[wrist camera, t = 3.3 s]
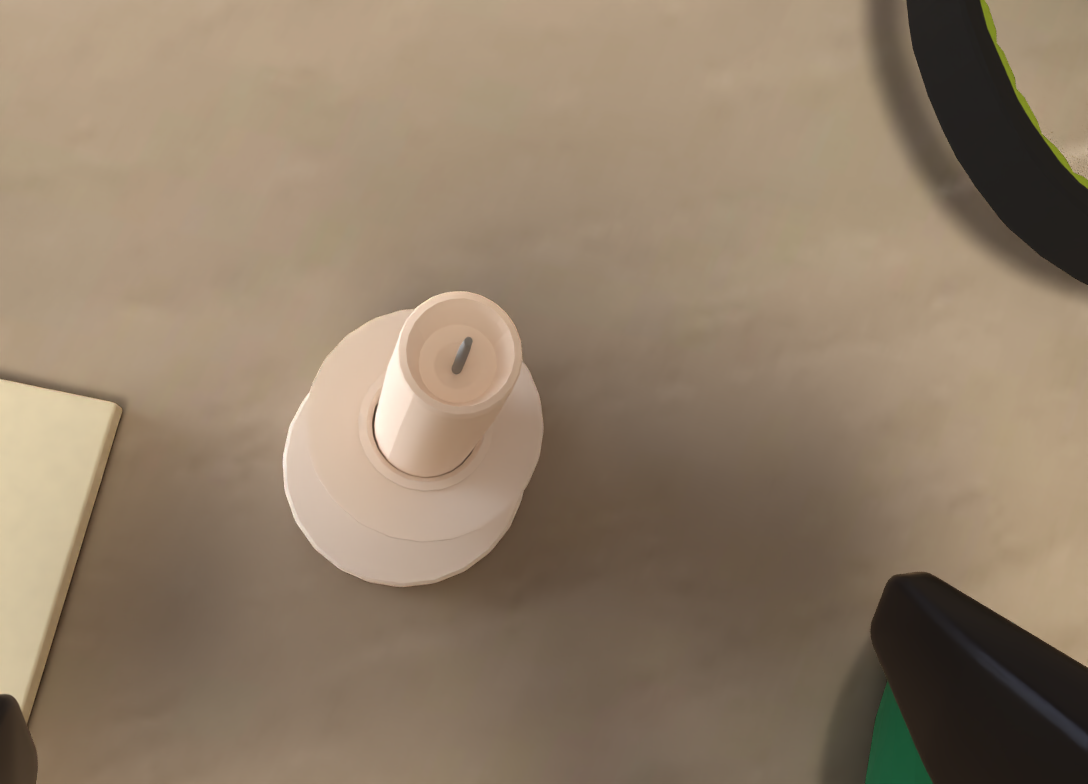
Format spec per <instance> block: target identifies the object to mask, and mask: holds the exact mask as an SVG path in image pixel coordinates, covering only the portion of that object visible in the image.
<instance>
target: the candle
mask: <svg viewBox="0 0 1088 784" xmlns="http://www.w3.org/2000/svg"><path fill="white" fill-rule="evenodd" d="M522 359H523V356H522V344H521V340H520V337H519V334H518V331H517V328H516V326H515V325H514V323H513V321H512V320H511V318H510V317H509V315H508V314H507V313H506V312H505V311H504V310H503V309H502V308H501V307H500V306H498V305H497V304H496V303H495V302H493V301H491V300H490V299H488V298H486V297H484V296H482V295H479V294H475V293H470V292H466V291H456V292H446V293H443V294H440V295H436V296H433V297H431V298H430V299H428V300H427V301H425V302H423V303H422V304H420V305H419V306H418V307H417V308H416V309H407V310H400V311H397V312H393V313H390V314H387V315H384V316H380V317H377V318H374V319H372V320H370V321H369V322H367V323H365V324H364V325H362V326H361V327H359V328H357V329H356V330H354V331H352V332H351V333H349V334H348V335H346V337H345V338H344V339H343V340H342V341H341V342H340V343H339V344H338V345H337V346H336V347H335V348H334V349H333V350H332V351H331V353H330V354H329V355H328V356H327V357H326V358H325V360H324V362H323V364H322V366H321V368H320V370H319V372H318V373H317V375H316V377H315V379H314V381H313V383H312V385H311V390H310V393H309V394H308V395H307V396H306V397H305V398H304V400H303V402H302V404H301V405H300V407H299V409H298V411H297V413H296V415H295V417H294V419H293V421H292V422H291V424H290V426H289V431H288V435H287V440H286V444H285V449H284V454H283V474H284V490H285V493H286V496H287V499H288V502H289V505H290V508H291V511H292V514H293V517H294V519H295V522H296V523H297V524H298V526H299V527H300V529H301V530H302V532H303V533H304V535H305V536H306V537H307V539H308V540H309V542H310V543H311V545H312V546H313V548H314V549H315V550H317V551H318V552H319V553H320V554H321V555H323V556H324V557H325V558H326V559H327V560H329V561H330V562H331V563H332V564H334V565H335V566H336V567H337V568H338V569H340V570H342V571H344V572H347V573H349V574H351V575H353V576H356V577H358V578H360V579H362V580H365V581H367V582H369V583H376V584H383V585H389V586H396V587H408V586H416V585H425V584H433V583H437V582H439V581H442V580H444V579H447V578H449V577H452V576H454V575H457V574H459V573H462V572H464V571H466V570H467V569H468V568H470V567H471V566H472V565H474V564H475V563H476V562H478V561H479V560H481V559H482V558H483V557H485V556H486V555H487V554H489V553H490V552H491V551H492V549H493V548H494V547H495V546H496V544H497V543H498V542H499V541H500V539H501V538H502V537H503V535H504V534H505V533H506V532H507V530H508V529H509V528H510V526H511V524H512V521H513V519H514V517H515V514H516V512H517V510H518V507H519V505H520V503H521V501H522V497H523V490H524V489H525V488H526V487H527V485H528V483H529V481H530V478H531V476H532V474H533V472H534V469H535V467H536V465H537V462H538V460H539V458H540V451H541V444H542V437H543V431H544V425H543V416H542V407H541V399H540V396H539V393H538V391H537V388H536V386H535V383H534V381H533V378H532V375H531V373H530V371H529V369H528V368H527V366H526V365H525V364H524V362H523V361H522Z"/></svg>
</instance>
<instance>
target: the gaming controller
mask: <svg viewBox="0 0 1088 784" xmlns="http://www.w3.org/2000/svg"><path fill="white" fill-rule="evenodd" d="M865 784H933V782H932V780H931V778H930V776H929V774H928V773H927V771H926V769H925V766H924V764H923V762H922V760H921V758H920V755H919V753H918V751H917V749H916V747H915V744H914V742H913V740H912V737H911V735H910V732H909V730H908V728H907V725H906V723H905V721H904V718H903V716H902V714H901V711H900V709H899V706H898V704H897V702H896V699H895V697H894V695H893V692H892V690H891V688H890V685H889V683H888V680H887V684H886V687H885V690H884V693H883V696H882V699H881V702H880V706H879V709H878V712H877V715H876V719H875V725H874V731H873V737H872V743H871V749H870V755H869V762H868V768H867V774H866V780H865Z"/></svg>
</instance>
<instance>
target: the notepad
mask: <svg viewBox="0 0 1088 784" xmlns="http://www.w3.org/2000/svg"><path fill="white" fill-rule="evenodd" d="M121 414H122V408H121V407H120V406H119V405H117V404H116V403H114V402H110V401H105V400H100V399H95V398H91V397H86V396H81V395H76V394H71V393H66V392H61V391H57V390H52V389H47V388H42V387H37V386H32V385H27V384H23V383H18V382H13V381H8V380H3V379H0V694H10V695H12V696H13V697H14V698H15V699H16V700H17V702H18V704H19V706H20V709H21V711H22V714H23V716H24V719H25V722H26V724H27V723H28V720H29V716H30V713H31V710H32V706H33V703H34V700H35V697H36V693H37V690H38V687H39V683H40V680H41V677H42V674H43V670H44V667H45V664H46V660H47V657H48V654H49V650H50V647H51V644H52V641H53V637H54V634H55V631H56V627H57V624H58V621H59V618H60V614H61V611H62V608H63V604H64V601H65V598H66V595H67V591H68V588H69V585H70V581H71V578H72V575H73V572H74V568H75V565H76V562H77V558H78V555H79V552H80V548H81V545H82V542H83V539H84V535H85V532H86V529H87V525H88V522H89V519H90V516H91V512H92V509H93V506H94V502H95V499H96V496H97V493H98V489H99V486H100V483H101V479H102V476H103V473H104V469H105V466H106V463H107V460H108V456H109V453H110V450H111V446H112V443H113V440H114V437H115V433H116V430H117V427H118V423H119V420H120V417H121Z"/></svg>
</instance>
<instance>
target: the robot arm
mask: <svg viewBox="0 0 1088 784" xmlns="http://www.w3.org/2000/svg"><path fill="white" fill-rule="evenodd" d="M870 633H871V640H872V644H873V647H874V650H875V652H876V654H877V657H878V659H879V662H880V664H881V666H882V669H883V671H884V673H885V676H886V678H887V680H888V683H889V685H890V688H891V690H892V692H893V695H894V697H895V699H896V702H897V704H898V706H899V709H900V711H901V714H902V716H903V718H904V721H905V723H906V725H907V728H908V730H909V732H910V735H911V737H912V740H913V742H914V744H915V747H916V749H917V751H918V753H919V755H920V758H921V760H922V762H923V764H924V766H925V769H926V771H927V773H928V774H929V776H930V778H931V780H932V782H933V784H1088V668H1087V667H1086V666H1084V665H1082V664H1081V663H1079V662H1077V661H1076V660H1074V659H1072V658H1071V657H1069V656H1067V655H1066V654H1064V653H1062V652H1061V651H1059V650H1057V649H1056V648H1054V647H1052V646H1051V645H1049V644H1047V643H1046V642H1044V641H1042V640H1041V639H1039V638H1037V637H1036V636H1034V635H1032V634H1031V633H1029V632H1027V631H1026V630H1024V629H1022V628H1021V627H1019V626H1017V625H1016V624H1014V623H1012V622H1011V621H1009V620H1007V619H1006V618H1004V617H1002V616H1001V615H999V614H997V613H996V612H994V611H992V610H991V609H989V608H987V607H986V606H984V605H982V604H981V603H979V602H977V601H976V600H974V599H972V598H971V597H969V596H967V595H966V594H964V593H962V592H961V591H959V590H957V589H956V588H954V587H952V586H951V585H949V584H947V583H946V582H944V581H942V580H941V579H939V578H937V577H936V576H934V575H932V574H930V573H927V572H913V573H906V574H898V575H895V576H892V577H891V578H890V579H889V580H888V582H887V583H886V586H885V588H884V591H883V593H882V596H881V599H880V601H879V604H878V606H877V609H876V612H875V614H874V617H873V619H872V622H871V629H870ZM37 771H38V760H37V752H36V748H35V745H34V742H33V739H32V737H31V734H30V732H29V729H28V727H27V724H26V722H25V719H24V716H23V714H22V711H21V709H20V706H19V704H18V702H17V700H16V699H15V698H14V697H13V696H12V695H10V694H0V784H36V780H37Z"/></svg>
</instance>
